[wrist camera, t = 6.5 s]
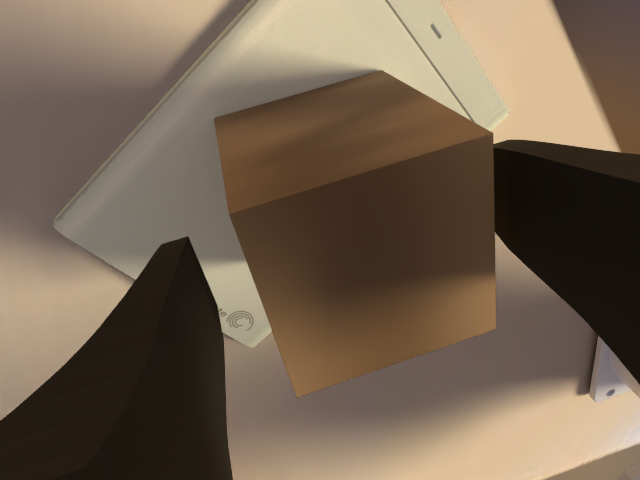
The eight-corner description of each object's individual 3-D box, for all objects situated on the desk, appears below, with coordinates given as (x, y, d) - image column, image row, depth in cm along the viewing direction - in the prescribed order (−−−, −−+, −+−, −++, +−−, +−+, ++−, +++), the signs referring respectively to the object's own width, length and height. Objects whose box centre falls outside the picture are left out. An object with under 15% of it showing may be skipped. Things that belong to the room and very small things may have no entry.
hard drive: (253, 354, 18) (517, 116, 16) (47, 229, 14) (365, -121, 11) (248, 325, 19) (490, 104, 17) (60, 205, 15) (345, -112, 13)
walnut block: (381, 69, 14) (493, 132, 9) (402, 215, 16) (495, 328, 11) (213, 118, 13) (228, 214, 8) (262, 260, 16) (296, 397, 11)
